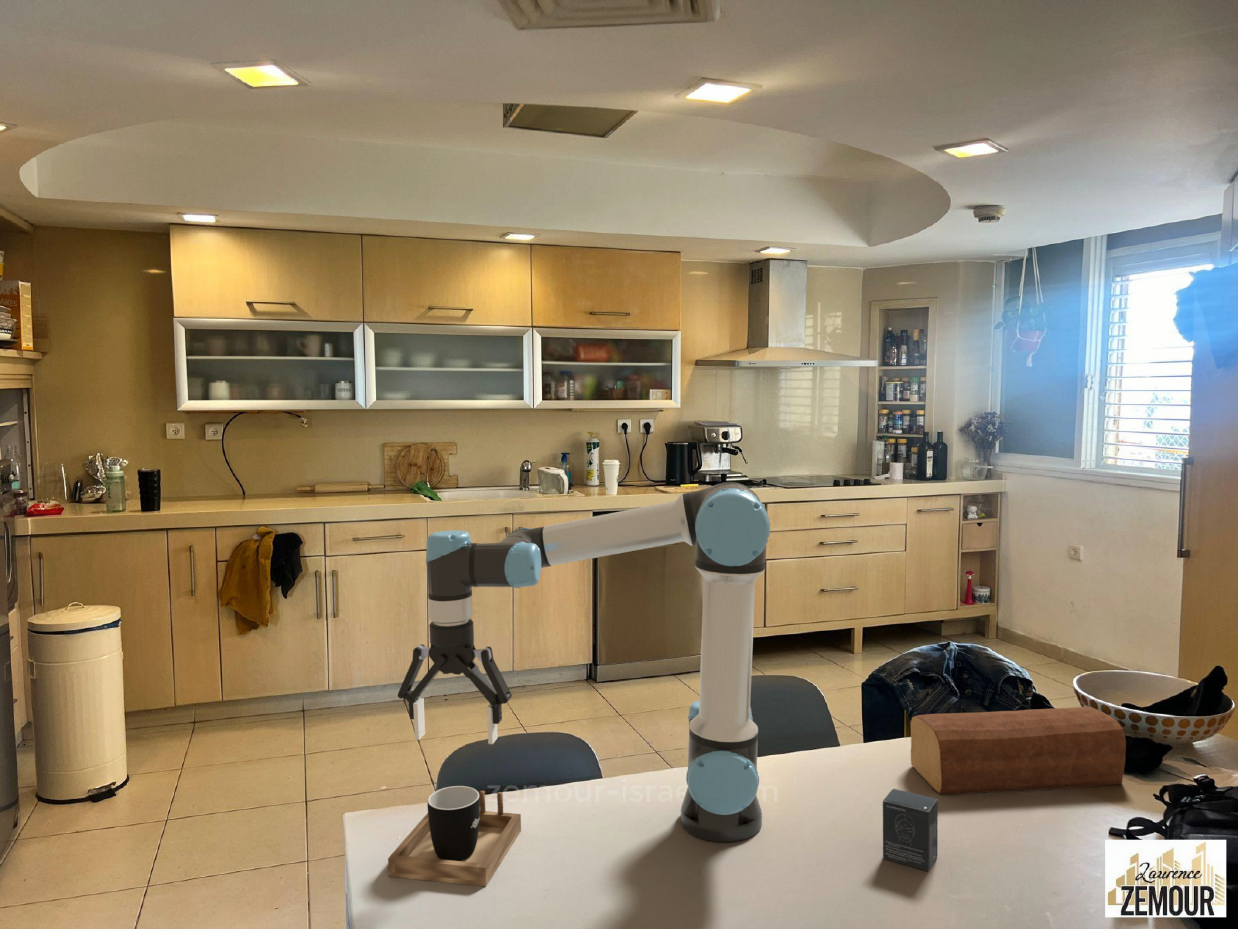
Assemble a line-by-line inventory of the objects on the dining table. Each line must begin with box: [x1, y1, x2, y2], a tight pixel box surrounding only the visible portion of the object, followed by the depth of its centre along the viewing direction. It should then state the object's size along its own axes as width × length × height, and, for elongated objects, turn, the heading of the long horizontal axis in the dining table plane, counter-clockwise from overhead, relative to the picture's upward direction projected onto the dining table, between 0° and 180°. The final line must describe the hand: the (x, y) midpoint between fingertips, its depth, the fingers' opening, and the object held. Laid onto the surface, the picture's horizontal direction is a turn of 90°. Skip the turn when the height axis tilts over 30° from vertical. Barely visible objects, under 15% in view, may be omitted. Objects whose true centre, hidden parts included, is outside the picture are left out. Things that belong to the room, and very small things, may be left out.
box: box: [882, 788, 939, 872], centre depth 148 cm, size 8×6×11 cm
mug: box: [427, 785, 480, 861], centre depth 152 cm, size 12×9×10 cm
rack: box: [387, 790, 522, 887], centre depth 153 cm, size 17×18×7 cm
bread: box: [910, 706, 1127, 795], centre depth 178 cm, size 16×39×13 cm, turn 94°
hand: (456, 739), depth 151 cm, fingers open, 13 cm apart
